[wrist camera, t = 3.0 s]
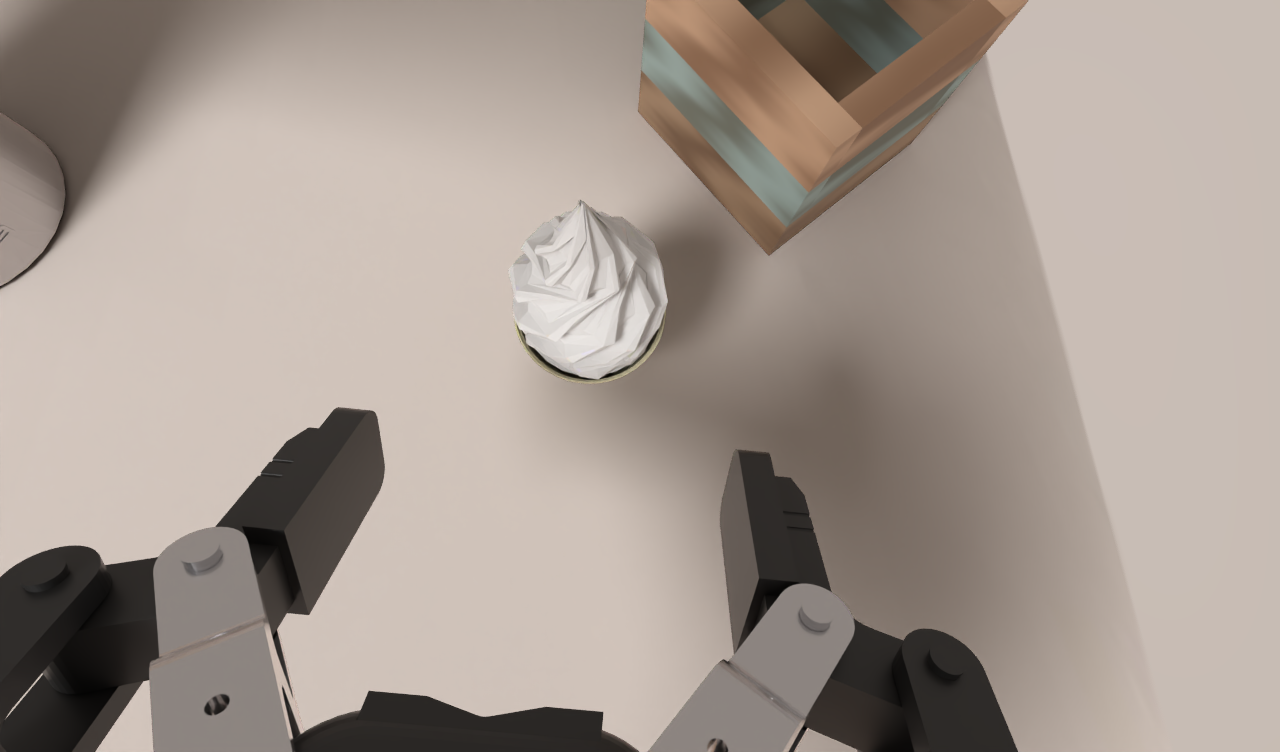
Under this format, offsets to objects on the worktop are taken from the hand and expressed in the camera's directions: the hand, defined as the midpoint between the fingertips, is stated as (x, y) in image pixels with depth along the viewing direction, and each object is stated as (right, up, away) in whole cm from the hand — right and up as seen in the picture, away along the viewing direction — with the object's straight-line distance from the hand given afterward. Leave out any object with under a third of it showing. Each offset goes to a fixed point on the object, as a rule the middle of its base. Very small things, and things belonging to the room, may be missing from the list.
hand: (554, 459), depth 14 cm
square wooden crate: (+9, +15, +17) cm, 24 cm away
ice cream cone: (0, +2, +14) cm, 15 cm away
